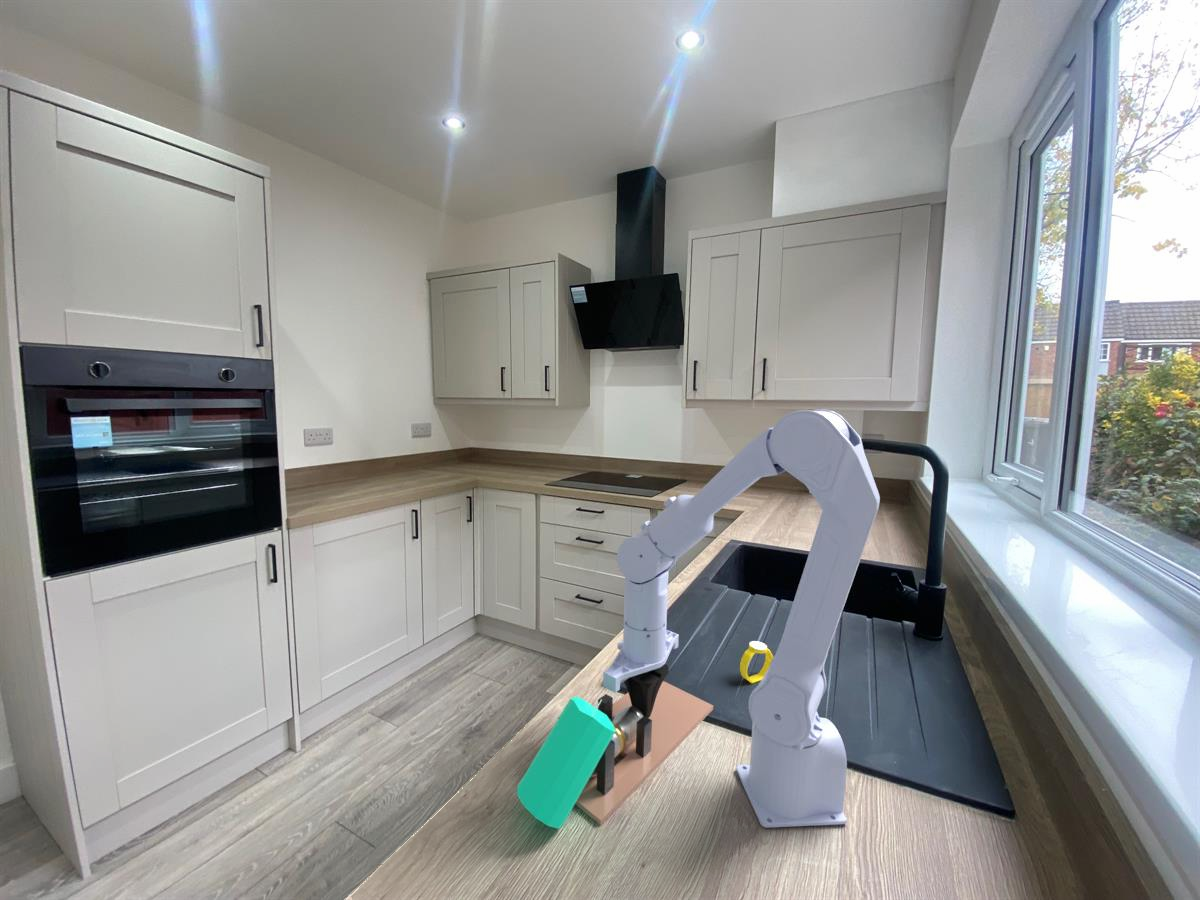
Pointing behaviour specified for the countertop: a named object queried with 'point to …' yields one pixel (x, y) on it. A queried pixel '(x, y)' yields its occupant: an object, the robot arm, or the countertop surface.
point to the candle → (565, 762)
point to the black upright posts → (607, 760)
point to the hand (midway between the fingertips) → (641, 715)
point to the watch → (753, 648)
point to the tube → (624, 729)
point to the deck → (669, 728)
